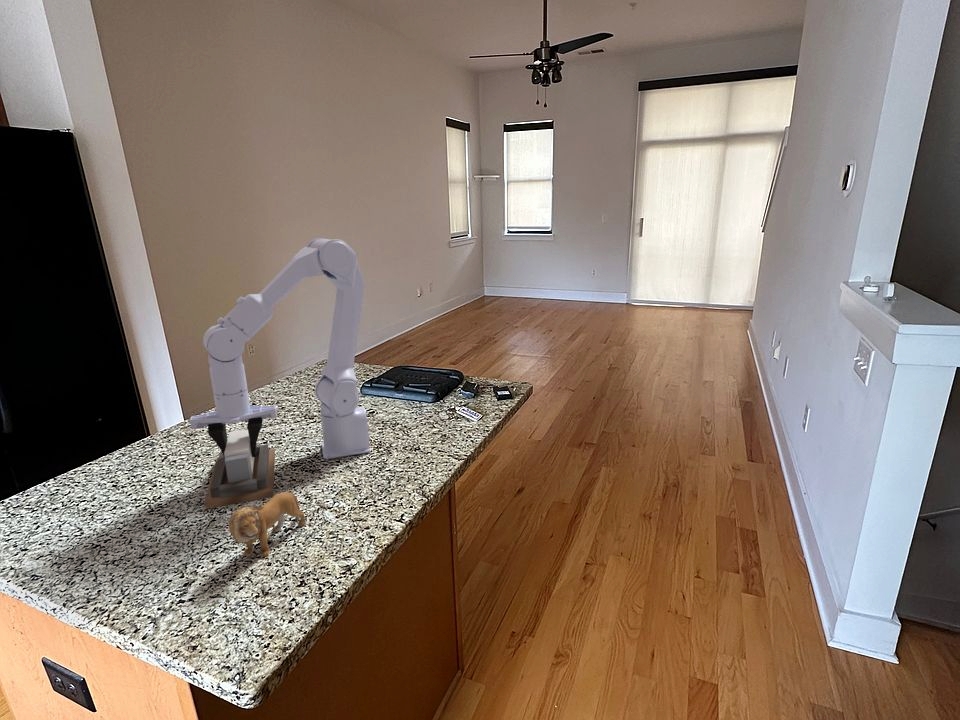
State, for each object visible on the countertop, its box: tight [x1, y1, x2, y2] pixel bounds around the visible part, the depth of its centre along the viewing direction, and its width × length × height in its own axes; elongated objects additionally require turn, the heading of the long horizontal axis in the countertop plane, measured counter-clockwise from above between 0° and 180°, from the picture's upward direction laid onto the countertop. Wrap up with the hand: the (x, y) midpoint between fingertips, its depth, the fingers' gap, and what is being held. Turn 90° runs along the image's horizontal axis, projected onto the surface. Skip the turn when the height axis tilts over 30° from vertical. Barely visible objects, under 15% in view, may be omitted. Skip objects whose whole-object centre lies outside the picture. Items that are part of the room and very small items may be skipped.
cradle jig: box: [203, 443, 276, 510], centre depth 98 cm, size 11×18×3 cm, turn 20°
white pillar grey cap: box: [224, 428, 254, 483], centre depth 97 cm, size 4×12×5 cm, turn 20°
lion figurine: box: [227, 491, 307, 558], centre depth 78 cm, size 15×5×9 cm, turn 166°
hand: (241, 457), depth 98 cm, fingers closed on white pillar grey cap, 4 cm apart
